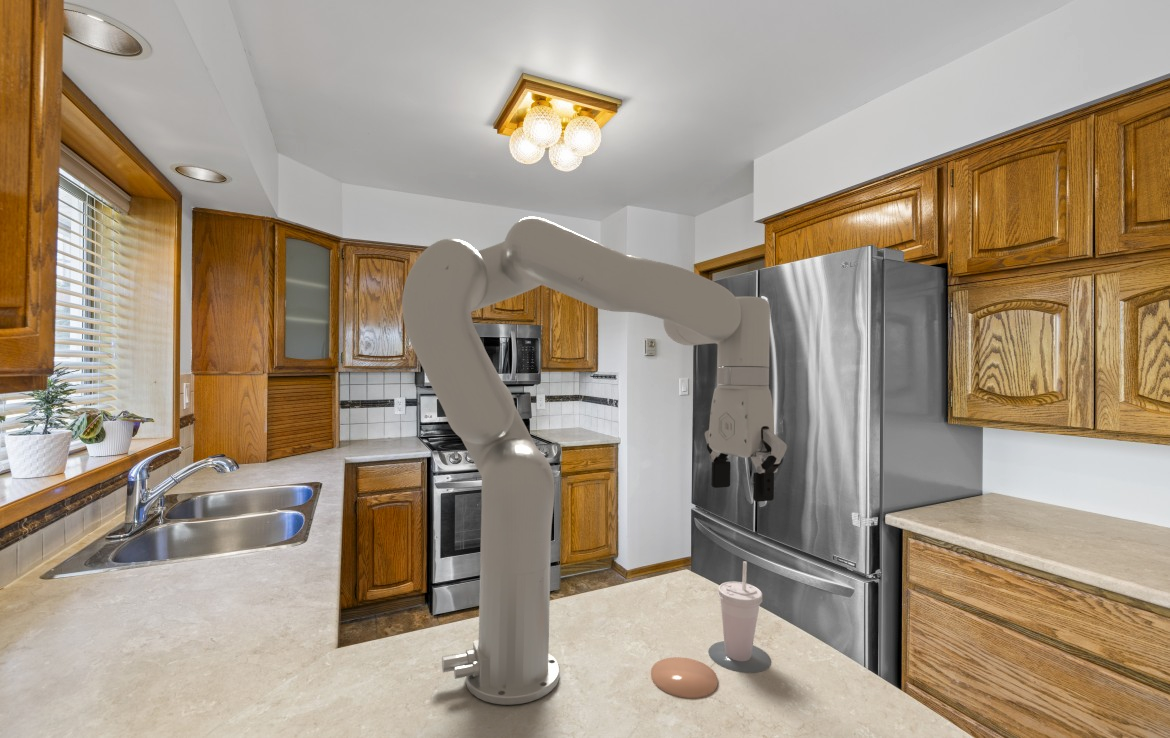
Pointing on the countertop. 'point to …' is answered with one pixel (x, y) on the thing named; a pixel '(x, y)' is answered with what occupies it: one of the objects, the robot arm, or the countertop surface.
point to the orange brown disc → (684, 677)
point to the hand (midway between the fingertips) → (740, 493)
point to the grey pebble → (753, 665)
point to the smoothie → (739, 616)
